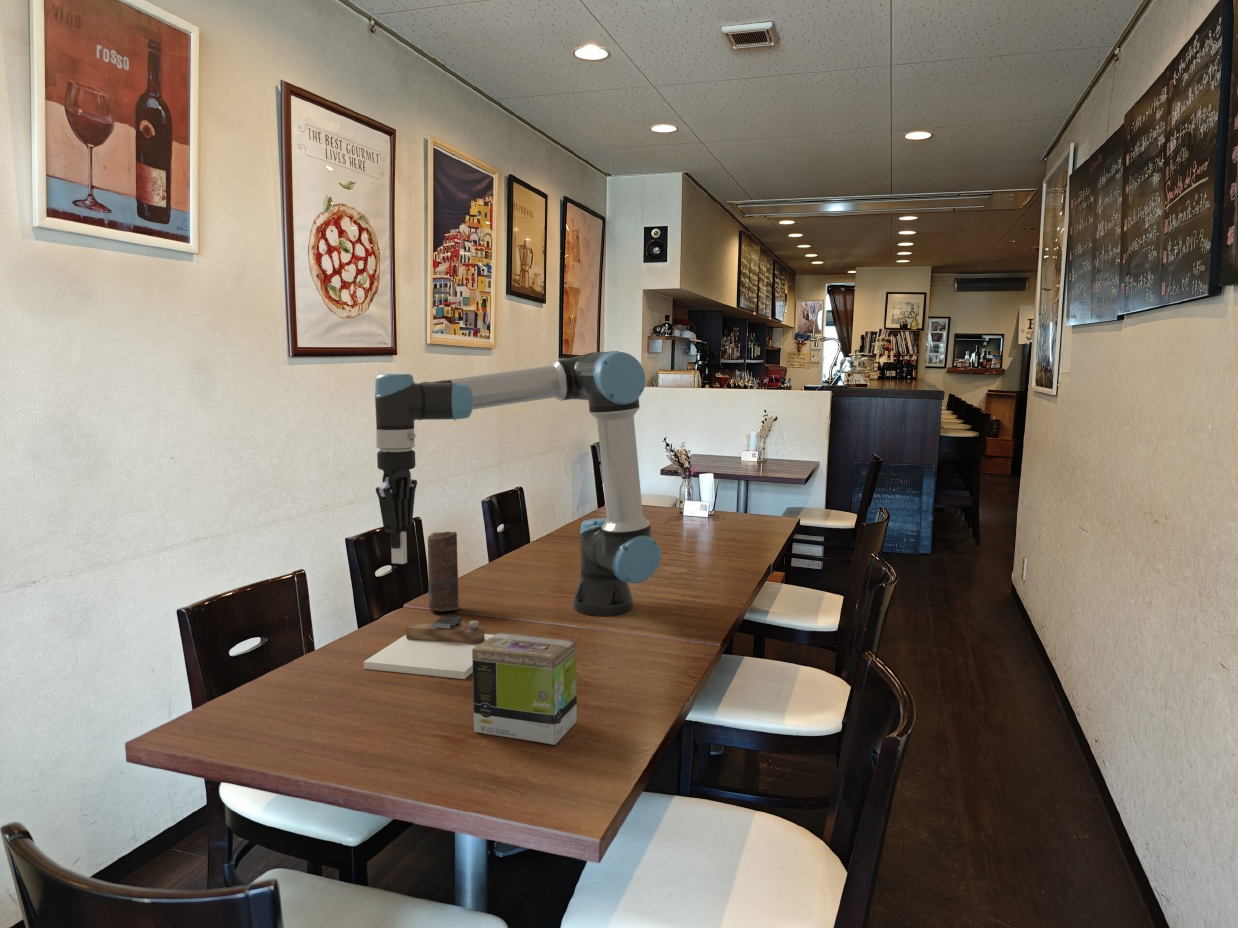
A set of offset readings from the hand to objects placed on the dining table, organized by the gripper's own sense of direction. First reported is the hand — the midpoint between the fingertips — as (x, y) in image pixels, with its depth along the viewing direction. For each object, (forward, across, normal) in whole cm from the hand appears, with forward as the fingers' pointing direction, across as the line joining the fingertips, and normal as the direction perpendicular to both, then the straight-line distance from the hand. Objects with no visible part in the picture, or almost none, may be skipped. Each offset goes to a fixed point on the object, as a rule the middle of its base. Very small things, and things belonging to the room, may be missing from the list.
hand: (399, 562), depth 165 cm
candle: (+21, +32, +6) cm, 38 cm away
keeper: (+19, +9, -6) cm, 22 cm away
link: (+19, +8, -6) cm, 21 cm away
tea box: (+21, -25, -37) cm, 49 cm away
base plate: (+20, +3, -7) cm, 22 cm away
